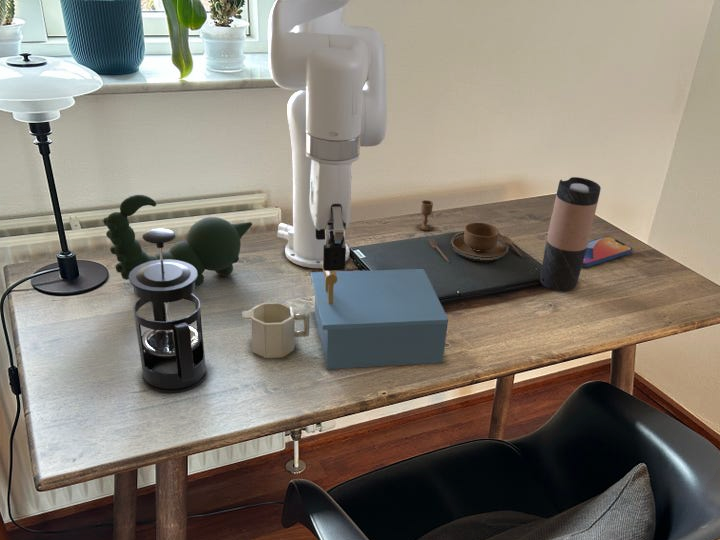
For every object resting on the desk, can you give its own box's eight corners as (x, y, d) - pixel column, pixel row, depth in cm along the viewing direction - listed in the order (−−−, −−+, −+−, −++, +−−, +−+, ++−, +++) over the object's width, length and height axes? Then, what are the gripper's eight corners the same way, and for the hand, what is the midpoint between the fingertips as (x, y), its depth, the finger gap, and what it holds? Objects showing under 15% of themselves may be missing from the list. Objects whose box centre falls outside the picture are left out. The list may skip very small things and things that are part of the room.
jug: (245, 359, 115) (243, 325, 111) (243, 336, 120) (242, 303, 116) (311, 355, 117) (311, 322, 113) (306, 333, 122) (307, 300, 119)
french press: (132, 364, 111) (110, 223, 98) (192, 348, 116) (179, 211, 103) (158, 407, 104) (138, 260, 91) (221, 388, 108) (211, 246, 95)
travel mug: (577, 295, 140) (602, 195, 129) (537, 288, 141) (558, 189, 130) (577, 276, 147) (601, 180, 135) (539, 270, 148) (559, 174, 136)
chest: (326, 369, 114) (327, 329, 110) (314, 313, 127) (315, 276, 123) (442, 362, 118) (448, 324, 114) (419, 309, 131) (423, 273, 127)
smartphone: (558, 254, 155) (559, 249, 154) (607, 239, 162) (608, 235, 161) (583, 269, 150) (584, 264, 149) (633, 253, 157) (634, 249, 156)
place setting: (450, 268, 145) (454, 241, 142) (413, 226, 160) (416, 200, 157) (528, 260, 151) (534, 233, 148) (486, 220, 166) (489, 195, 163)
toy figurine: (136, 317, 125) (268, 273, 137) (110, 215, 113) (257, 177, 125) (117, 293, 131) (245, 252, 143) (91, 193, 119) (232, 158, 131)
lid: (322, 329, 110) (323, 294, 106) (310, 276, 123) (310, 243, 120) (448, 323, 114) (452, 289, 111) (423, 272, 127) (426, 240, 124)
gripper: (299, 122, 109) (299, 228, 119) (312, 169, 95) (311, 283, 105) (350, 123, 110) (345, 227, 120) (370, 169, 97) (363, 281, 107)
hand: (329, 253), depth 113 cm, fingers open, 9 cm apart
